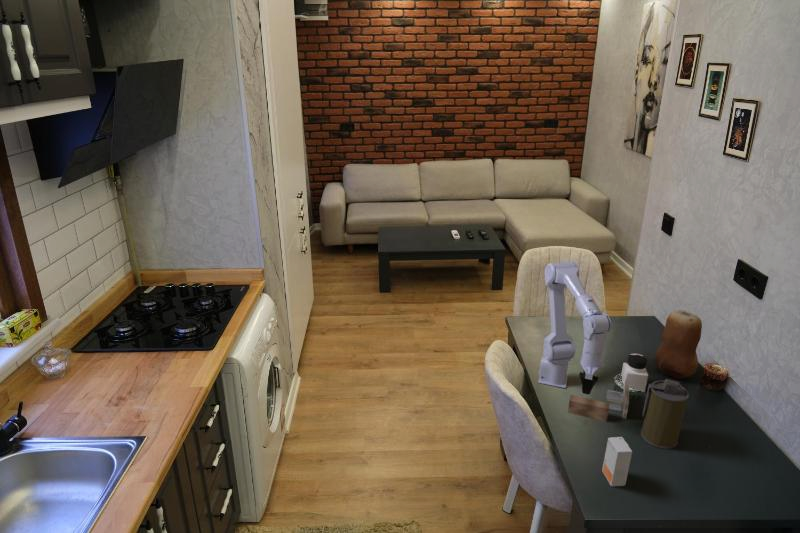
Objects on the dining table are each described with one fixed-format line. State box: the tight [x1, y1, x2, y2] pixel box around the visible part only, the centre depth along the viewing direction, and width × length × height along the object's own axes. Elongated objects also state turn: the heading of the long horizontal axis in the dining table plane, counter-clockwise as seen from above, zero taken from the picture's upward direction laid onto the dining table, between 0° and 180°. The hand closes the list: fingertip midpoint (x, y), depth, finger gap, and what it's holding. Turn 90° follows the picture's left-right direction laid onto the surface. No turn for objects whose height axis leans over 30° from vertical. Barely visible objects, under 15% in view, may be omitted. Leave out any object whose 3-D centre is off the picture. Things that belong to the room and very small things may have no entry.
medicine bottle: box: [620, 353, 649, 393], centre depth 188 cm, size 7×7×12 cm
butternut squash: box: [653, 309, 703, 380], centre depth 193 cm, size 14×13×25 cm
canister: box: [640, 378, 690, 450], centre depth 161 cm, size 11×10×20 cm
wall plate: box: [622, 380, 630, 420], centre depth 178 cm, size 1×14×6 cm, turn 158°
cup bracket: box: [605, 389, 624, 412], centre depth 180 cm, size 5×7×3 cm
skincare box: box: [601, 436, 633, 487], centre depth 147 cm, size 6×4×12 cm
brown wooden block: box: [567, 394, 610, 422], centre depth 175 cm, size 12×3×5 cm, turn 67°
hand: (586, 386), depth 172 cm, fingers open, 7 cm apart
